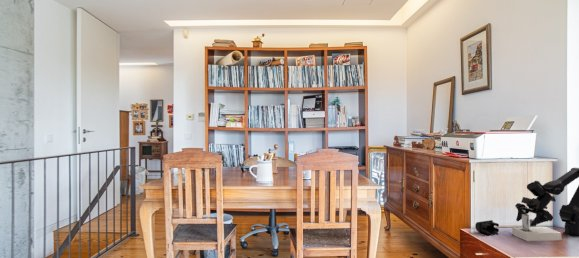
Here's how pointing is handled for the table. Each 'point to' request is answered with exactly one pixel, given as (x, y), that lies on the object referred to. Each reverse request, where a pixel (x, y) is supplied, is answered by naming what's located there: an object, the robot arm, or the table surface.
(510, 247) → the table surface
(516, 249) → the table surface
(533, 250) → the table surface
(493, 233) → the end cap
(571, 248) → the table surface
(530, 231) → the hole plate
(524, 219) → the long pin
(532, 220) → the short pin
